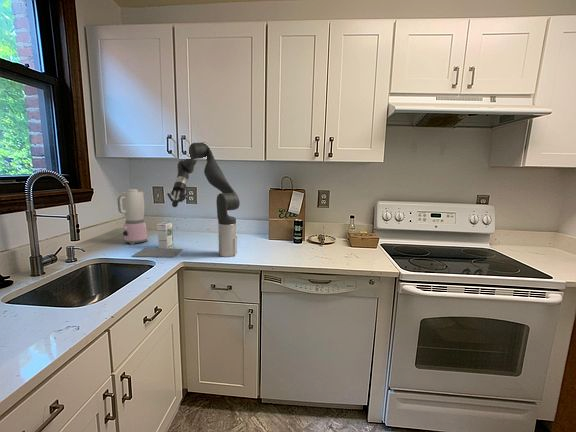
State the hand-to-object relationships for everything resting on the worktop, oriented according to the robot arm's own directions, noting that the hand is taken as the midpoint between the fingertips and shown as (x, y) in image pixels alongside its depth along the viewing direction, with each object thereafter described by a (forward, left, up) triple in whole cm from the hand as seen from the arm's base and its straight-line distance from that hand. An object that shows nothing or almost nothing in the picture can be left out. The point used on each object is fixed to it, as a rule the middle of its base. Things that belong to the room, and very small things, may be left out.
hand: (174, 206), depth 176 cm
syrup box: (0, +15, -22) cm, 27 cm away
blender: (+23, +6, -22) cm, 32 cm away
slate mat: (0, +26, -22) cm, 34 cm away
